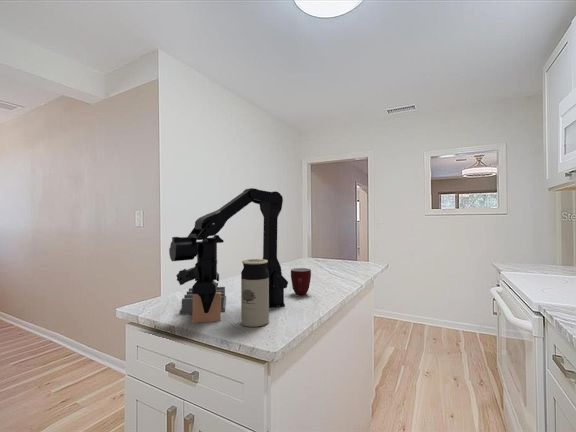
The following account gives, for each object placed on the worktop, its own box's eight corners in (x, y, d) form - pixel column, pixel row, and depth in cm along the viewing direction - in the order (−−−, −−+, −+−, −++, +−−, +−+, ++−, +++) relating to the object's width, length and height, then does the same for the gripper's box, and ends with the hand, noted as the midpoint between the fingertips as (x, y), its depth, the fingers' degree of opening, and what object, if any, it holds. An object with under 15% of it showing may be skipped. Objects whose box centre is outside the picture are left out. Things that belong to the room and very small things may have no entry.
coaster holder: (226, 298, 110) (226, 286, 110) (224, 311, 94) (224, 297, 94) (187, 300, 107) (187, 288, 108) (179, 314, 92) (179, 299, 92)
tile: (220, 318, 88) (220, 291, 89) (220, 320, 86) (220, 293, 86) (193, 319, 87) (193, 293, 87) (192, 322, 85) (192, 295, 85)
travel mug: (255, 316, 90) (255, 258, 90) (274, 321, 85) (274, 260, 85) (235, 323, 84) (235, 261, 84) (254, 329, 79) (254, 263, 79)
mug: (312, 299, 109) (312, 272, 109) (291, 299, 109) (291, 272, 109) (310, 292, 120) (309, 268, 120) (290, 292, 120) (290, 268, 120)
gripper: (184, 255, 95) (184, 303, 94) (172, 263, 76) (172, 323, 76) (219, 254, 97) (219, 301, 96) (215, 262, 78) (215, 320, 78)
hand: (207, 310), depth 87 cm, fingers open, 4 cm apart
